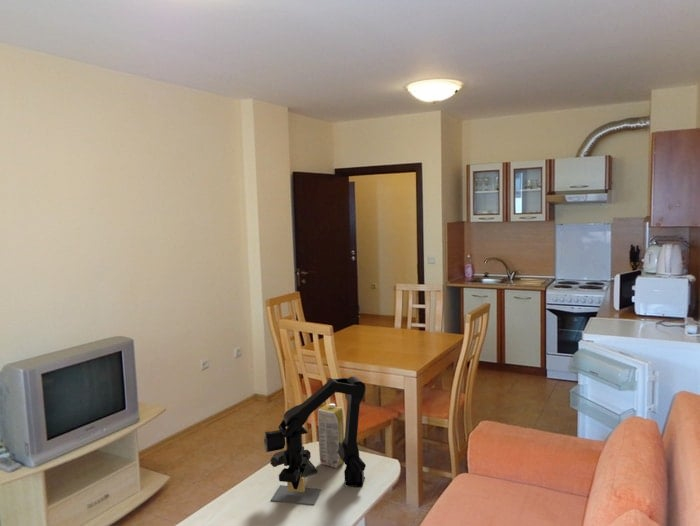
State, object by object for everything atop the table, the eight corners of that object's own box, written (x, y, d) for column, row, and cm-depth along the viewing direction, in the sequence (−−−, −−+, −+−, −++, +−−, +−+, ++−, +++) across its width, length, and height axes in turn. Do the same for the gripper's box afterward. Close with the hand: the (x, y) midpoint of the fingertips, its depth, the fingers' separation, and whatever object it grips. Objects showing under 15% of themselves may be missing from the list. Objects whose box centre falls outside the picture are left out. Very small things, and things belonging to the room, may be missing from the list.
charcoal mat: (321, 489, 193) (321, 488, 193) (314, 505, 183) (314, 504, 183) (280, 486, 197) (280, 485, 197) (270, 501, 187) (270, 500, 187)
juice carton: (347, 461, 214) (345, 404, 211) (336, 470, 207) (334, 411, 204) (328, 456, 219) (326, 400, 216) (317, 464, 212) (314, 406, 209)
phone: (299, 476, 202) (286, 459, 215) (299, 479, 202) (287, 462, 215) (318, 471, 205) (305, 454, 219) (318, 473, 205) (305, 457, 219)
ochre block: (305, 489, 190) (304, 476, 189) (303, 492, 189) (303, 479, 188) (289, 488, 191) (288, 475, 191) (287, 490, 190) (286, 477, 189)
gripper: (281, 433, 199) (283, 472, 201) (263, 457, 181) (265, 500, 182) (310, 435, 196) (311, 475, 198) (294, 459, 178) (296, 503, 180)
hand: (296, 487), depth 190 cm, fingers closed on ochre block, 1 cm apart
